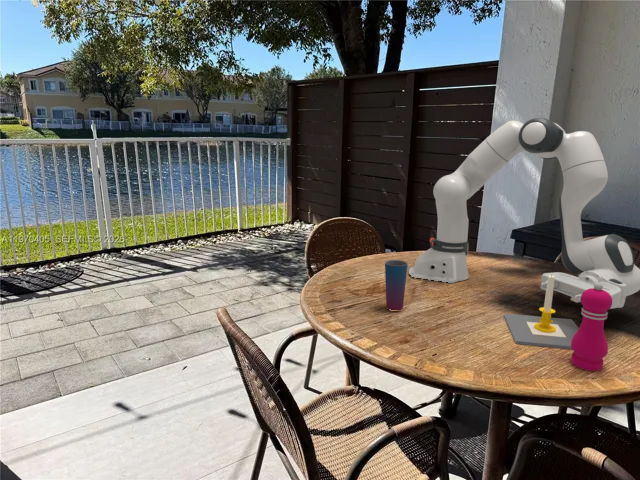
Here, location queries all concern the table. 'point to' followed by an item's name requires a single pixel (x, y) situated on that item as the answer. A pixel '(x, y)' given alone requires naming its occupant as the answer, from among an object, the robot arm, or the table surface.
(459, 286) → the table surface
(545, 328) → the candle
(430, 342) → the table surface
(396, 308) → the cup
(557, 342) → the tile
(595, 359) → the pepper mill
